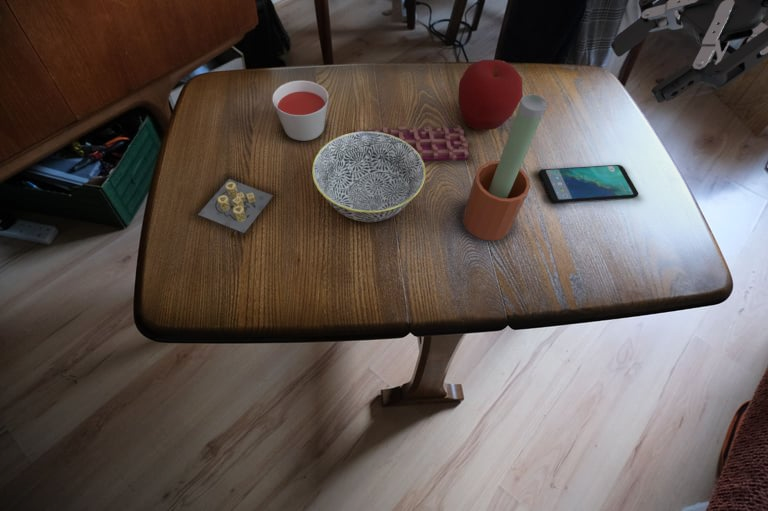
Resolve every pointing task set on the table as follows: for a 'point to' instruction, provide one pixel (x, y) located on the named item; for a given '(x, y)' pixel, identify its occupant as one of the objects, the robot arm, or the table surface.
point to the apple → (489, 94)
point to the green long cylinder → (517, 144)
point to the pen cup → (493, 204)
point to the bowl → (368, 175)
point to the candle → (301, 109)
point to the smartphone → (587, 183)
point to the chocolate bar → (432, 142)
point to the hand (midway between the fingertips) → (633, 73)
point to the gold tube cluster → (236, 205)
